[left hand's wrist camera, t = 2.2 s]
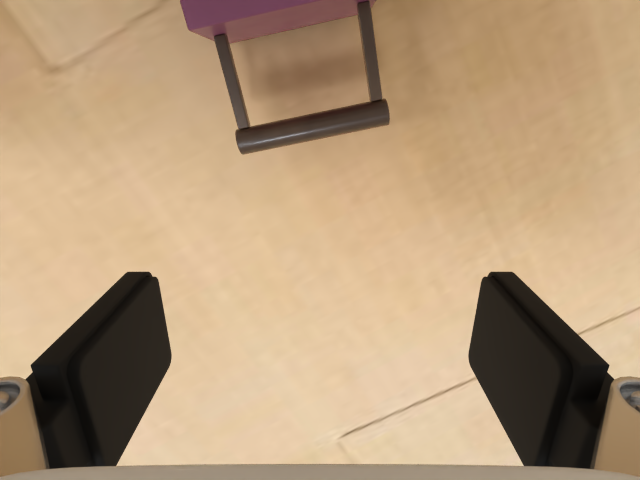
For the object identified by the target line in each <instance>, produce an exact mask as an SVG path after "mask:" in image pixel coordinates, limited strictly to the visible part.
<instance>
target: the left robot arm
mask: <svg viewBox="0 0 640 480" xmlns="http://www.w3.org/2000/svg"><path fill="white" fill-rule="evenodd" d="M170 363H171V349H170V343H169V337H168V332H167V326H166V320H165V315H164V309H163V304H162V298H161V292H160V287H159V282H158V279H157V278H156V277H152V275H151V273H150V272H127V273H126V274H125V275H124V276H122V277H121V278H120V279H119V280H118V281H117V282H116V283H115V284H114V285H113V286H112V287H111V288H110V289H109V290H108V291H107V292H106V293H105V294H104V295H103V296H102V297H101V298H100V299H99V300H98V301H97V302H96V303H95V304H93V305H92V306H91V307H90V308H89V309H88V310H87V311H86V312H85V313H84V314H83V315H82V316H81V317H80V318H79V319H78V320H77V321H76V322H75V323H74V324H73V325H72V326H71V327H70V328H69V329H68V330H67V331H66V332H65V333H63V334H62V335H61V336H60V337H59V338H58V339H57V340H56V341H55V342H54V343H53V344H52V345H51V346H50V347H49V348H48V349H47V350H46V351H45V352H44V353H43V354H42V355H41V356H40V357H39V358H38V359H37V360H36V361H34V362H33V363H32V364H31V368H32V371H33V373H32V374H31V375H30V376H29V377H28V378H27V379H26V380H25V379H23V378H20V377H3V378H0V480H640V378H637V377H620V378H617V379H615V380H614V379H613V378H612V377H611V376H610V375H609V374H608V373H607V371H608V368H609V364H608V363H607V362H606V361H604V360H603V359H602V358H601V357H600V356H599V355H598V354H597V353H596V352H595V351H594V350H593V349H592V348H591V347H590V346H589V345H588V344H587V343H586V342H585V341H584V340H583V339H582V338H581V337H580V336H579V335H578V334H577V333H575V332H574V331H573V330H572V329H571V328H570V327H569V326H568V325H567V324H566V323H565V322H564V321H563V320H562V319H561V318H560V317H559V316H558V315H557V314H556V313H555V312H554V311H553V310H552V309H551V308H550V307H549V306H548V305H546V304H545V303H544V302H543V301H542V300H541V299H540V298H539V297H538V296H537V295H536V294H535V293H534V292H533V291H532V290H531V289H530V288H529V287H528V286H527V285H526V284H525V283H524V282H523V281H522V280H521V279H520V278H519V277H518V276H516V275H515V274H514V273H513V272H490V273H489V275H488V277H484V278H483V279H482V282H481V287H480V292H479V298H478V304H477V309H476V315H475V320H474V326H473V332H472V337H471V343H470V349H469V363H470V366H471V368H472V370H473V372H474V374H475V376H476V377H477V379H478V381H479V383H480V385H481V387H482V389H483V390H484V392H485V394H486V396H487V398H488V400H489V402H490V403H491V405H492V407H493V409H494V411H495V413H496V415H497V417H498V418H499V420H500V422H501V424H502V426H503V428H504V430H505V431H506V433H507V435H508V437H509V439H510V441H511V443H512V444H513V446H514V448H515V450H516V452H517V454H518V456H519V458H520V459H521V461H522V463H523V465H524V466H492V465H403V464H237V465H148V466H116V465H117V463H118V461H119V459H120V458H121V456H122V454H123V452H124V450H125V448H126V446H127V444H128V443H129V441H130V439H131V437H132V435H133V433H134V431H135V430H136V428H137V426H138V424H139V422H140V420H141V418H142V417H143V415H144V413H145V411H146V409H147V407H148V405H149V403H150V402H151V400H152V398H153V396H154V394H155V392H156V390H157V389H158V387H159V385H160V383H161V381H162V379H163V377H164V376H165V374H166V372H167V370H168V368H169V366H170Z"/></svg>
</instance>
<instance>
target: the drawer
mask: <svg viewBox="0 0 640 480" xmlns="http://www.w3.org/2000/svg"><path fill="white" fill-rule="evenodd" d="M375 1H376V0H180V3H181V6H182V10H183V13H184V16H185V20H186V23H187V27H188V30H189V31H192V32H194V33H197V34H199V35H201V36H204V37H206V38H208V39H211V40H213V41H215V44H216V47H217V51H218V55H219V59H220V62H221V66H222V70H223V73H224V77H225V81H226V84H227V88H228V92H229V96H230V99H231V103H232V107H233V110H234V114H235V118H236V122H237V125H238V128H239V129H237V130H236V141H237V145H238V148H239V150H240V152H241V154H248V153H253V152H258V151H263V150H268V149H273V148H278V147H282V146H287V145H292V144H297V143H302V142H307V141H312V140H317V139H321V138H326V137H331V136H336V135H341V134H346V133H351V132H356V131H360V130H365V129H370V128H375V127H380V126H385V125H388V124H389V121H390V118H389V109H388V104H387V101H386V99H382V93H381V85H380V77H379V69H378V62H377V54H376V46H375V38H374V31H373V23H372V15H371V7H372V6H373V4H374V3H375ZM353 15H358V19H359V26H360V34H361V41H362V48H363V55H364V62H365V69H366V76H367V83H368V90H369V97H370V102H366V103H361V104H356V105H351V106H347V107H342V108H337V109H332V110H328V111H323V112H318V113H313V114H309V115H304V116H299V117H294V118H289V119H285V120H280V121H275V122H270V123H266V124H261V125H256V126H251V127H250V122H249V118H248V114H247V110H246V107H245V103H244V99H243V95H242V91H241V87H240V83H239V79H238V75H237V72H236V68H235V64H234V60H233V56H232V52H231V48H230V44H229V43H234V42H238V41H243V40H247V39H252V38H256V37H260V36H265V35H269V34H274V33H278V32H282V31H287V30H291V29H296V28H300V27H305V26H309V25H313V24H318V23H322V22H327V21H331V20H336V19H340V18H344V17H349V16H353Z"/></svg>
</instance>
